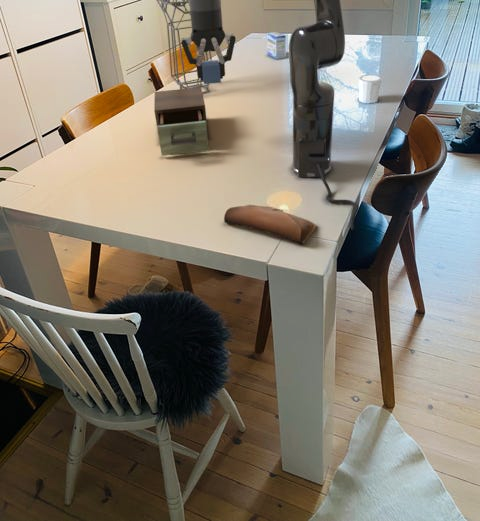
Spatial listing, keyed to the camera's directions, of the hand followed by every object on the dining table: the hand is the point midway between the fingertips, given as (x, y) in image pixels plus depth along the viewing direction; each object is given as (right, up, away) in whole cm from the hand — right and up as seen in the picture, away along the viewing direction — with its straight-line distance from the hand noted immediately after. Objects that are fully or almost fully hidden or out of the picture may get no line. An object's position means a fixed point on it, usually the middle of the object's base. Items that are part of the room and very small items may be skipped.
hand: (211, 78), depth 130 cm
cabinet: (-9, -9, +18) cm, 22 cm away
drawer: (-8, -16, +8) cm, 19 cm away
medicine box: (+22, +36, +75) cm, 86 cm away
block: (0, 0, 0) cm, 0 cm away
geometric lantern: (-9, +13, +47) cm, 50 cm away
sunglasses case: (+14, -40, -25) cm, 49 cm away
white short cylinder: (+48, +4, +30) cm, 57 cm away
